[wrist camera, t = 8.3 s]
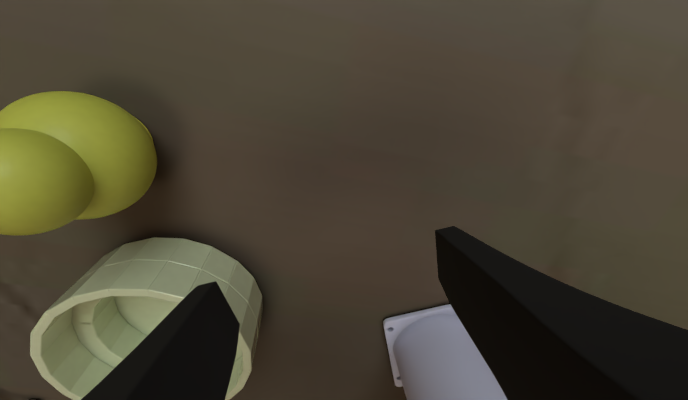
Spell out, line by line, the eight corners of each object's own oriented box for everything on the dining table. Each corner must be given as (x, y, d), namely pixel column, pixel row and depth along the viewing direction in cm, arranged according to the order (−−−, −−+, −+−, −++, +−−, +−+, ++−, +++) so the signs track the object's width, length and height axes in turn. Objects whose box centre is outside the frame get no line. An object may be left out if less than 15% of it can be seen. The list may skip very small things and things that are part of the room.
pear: (194, 175, 17) (86, 284, 9) (101, 196, 17) (-93, 324, 9) (146, 74, 14) (-70, 95, 6) (36, 98, 14) (-325, 150, 6)
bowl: (282, 332, 23) (275, 396, 19) (147, 362, 23) (108, 434, 19) (230, 216, 18) (203, 267, 14) (56, 255, 18) (-27, 319, 14)
